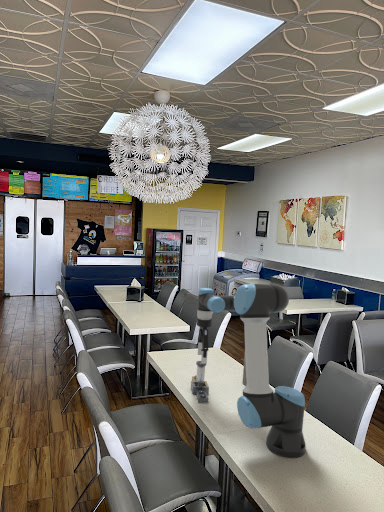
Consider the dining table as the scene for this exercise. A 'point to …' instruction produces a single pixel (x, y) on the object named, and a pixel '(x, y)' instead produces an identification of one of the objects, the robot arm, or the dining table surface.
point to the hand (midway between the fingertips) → (201, 359)
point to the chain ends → (200, 390)
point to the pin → (200, 373)
